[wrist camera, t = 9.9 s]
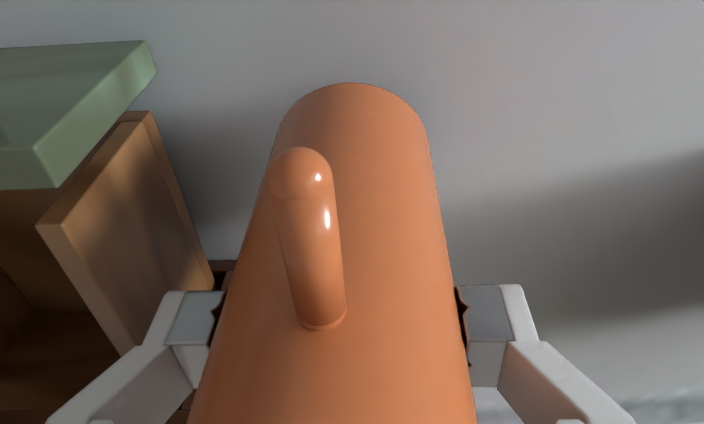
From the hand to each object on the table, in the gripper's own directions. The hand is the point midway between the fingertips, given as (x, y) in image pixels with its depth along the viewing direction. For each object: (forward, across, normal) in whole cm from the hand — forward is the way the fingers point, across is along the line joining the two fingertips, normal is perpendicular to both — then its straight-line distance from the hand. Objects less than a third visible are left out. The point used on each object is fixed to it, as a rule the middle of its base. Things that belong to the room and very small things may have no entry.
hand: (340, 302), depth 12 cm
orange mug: (+7, 0, -2) cm, 7 cm away
